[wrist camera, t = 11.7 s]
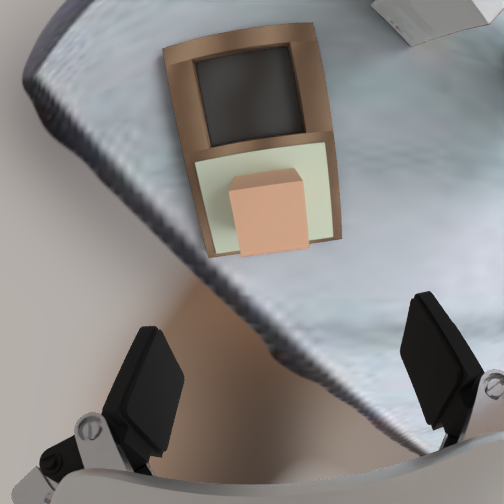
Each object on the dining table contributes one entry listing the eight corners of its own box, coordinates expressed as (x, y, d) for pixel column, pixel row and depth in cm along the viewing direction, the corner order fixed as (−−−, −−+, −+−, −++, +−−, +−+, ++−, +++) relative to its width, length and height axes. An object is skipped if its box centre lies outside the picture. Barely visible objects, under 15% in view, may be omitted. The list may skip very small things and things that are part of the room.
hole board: (310, 26, 20) (313, 21, 18) (338, 233, 30) (342, 240, 28) (167, 51, 21) (161, 48, 20) (210, 251, 31) (208, 259, 29)
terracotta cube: (294, 167, 25) (303, 180, 20) (300, 223, 27) (309, 248, 22) (234, 176, 25) (228, 191, 21) (244, 231, 28) (241, 257, 23)
